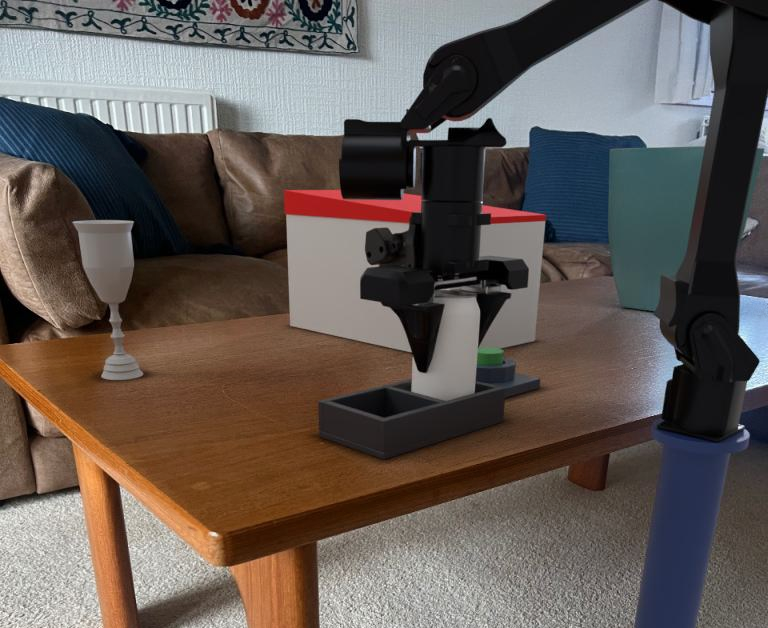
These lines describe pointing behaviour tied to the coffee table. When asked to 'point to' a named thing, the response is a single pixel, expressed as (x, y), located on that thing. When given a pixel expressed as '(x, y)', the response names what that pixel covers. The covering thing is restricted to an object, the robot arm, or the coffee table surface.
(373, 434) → the divided tray
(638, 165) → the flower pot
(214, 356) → the coffee table surface
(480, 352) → the button
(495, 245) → the red-topped white box
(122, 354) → the chalice
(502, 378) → the grey button base
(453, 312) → the can
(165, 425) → the coffee table surface
